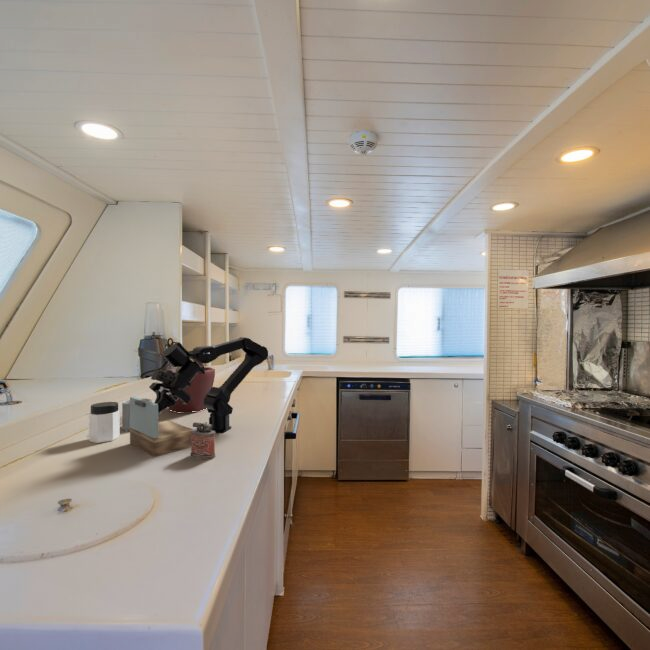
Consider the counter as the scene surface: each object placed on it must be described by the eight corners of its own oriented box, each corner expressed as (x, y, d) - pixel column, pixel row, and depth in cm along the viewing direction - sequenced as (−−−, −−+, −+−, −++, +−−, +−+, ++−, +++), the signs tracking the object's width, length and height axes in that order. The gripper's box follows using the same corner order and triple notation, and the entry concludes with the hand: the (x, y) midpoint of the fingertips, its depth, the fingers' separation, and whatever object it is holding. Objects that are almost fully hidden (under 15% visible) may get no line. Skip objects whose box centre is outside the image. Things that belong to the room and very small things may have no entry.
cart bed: (168, 434, 126) (168, 420, 126) (194, 445, 115) (194, 429, 115) (129, 443, 116) (130, 428, 116) (154, 456, 105) (154, 439, 105)
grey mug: (119, 431, 130) (119, 404, 130) (125, 424, 139) (125, 399, 139) (159, 428, 134) (159, 402, 134) (162, 421, 144) (162, 397, 144)
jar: (88, 444, 115) (88, 408, 116) (89, 438, 122) (89, 403, 122) (120, 439, 120) (120, 404, 120) (118, 433, 127) (118, 400, 127)
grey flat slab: (133, 426, 117) (133, 396, 117) (158, 437, 106) (158, 404, 106) (127, 428, 116) (127, 397, 116) (151, 439, 104) (151, 405, 104)
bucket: (188, 417, 151) (188, 358, 151) (149, 413, 159) (149, 357, 159) (224, 405, 173) (224, 354, 174) (188, 402, 181) (188, 353, 182)
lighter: (217, 456, 105) (217, 422, 105) (210, 460, 102) (210, 425, 102) (195, 452, 108) (195, 420, 108) (187, 456, 104) (187, 423, 105)
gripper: (155, 359, 123) (120, 395, 115) (181, 362, 111) (145, 403, 102) (177, 379, 129) (145, 415, 121) (204, 384, 117) (171, 424, 108)
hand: (151, 414), depth 113 cm, fingers closed
